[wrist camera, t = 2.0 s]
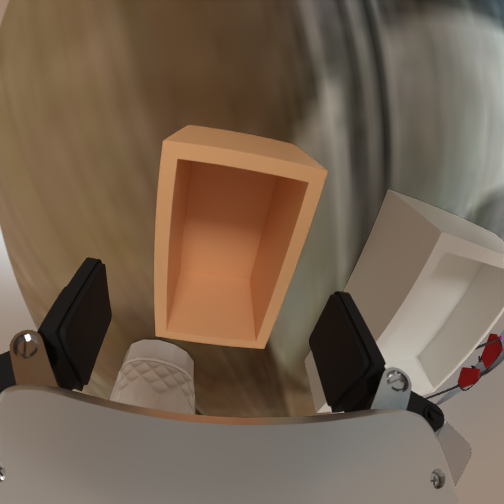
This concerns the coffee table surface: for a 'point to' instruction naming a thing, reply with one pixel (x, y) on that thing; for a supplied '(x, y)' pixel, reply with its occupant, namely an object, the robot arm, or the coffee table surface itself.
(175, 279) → the orange crate
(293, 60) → the coffee table surface
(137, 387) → the white cup
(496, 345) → the glasses
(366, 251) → the box
